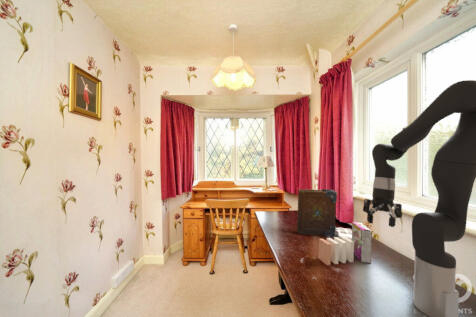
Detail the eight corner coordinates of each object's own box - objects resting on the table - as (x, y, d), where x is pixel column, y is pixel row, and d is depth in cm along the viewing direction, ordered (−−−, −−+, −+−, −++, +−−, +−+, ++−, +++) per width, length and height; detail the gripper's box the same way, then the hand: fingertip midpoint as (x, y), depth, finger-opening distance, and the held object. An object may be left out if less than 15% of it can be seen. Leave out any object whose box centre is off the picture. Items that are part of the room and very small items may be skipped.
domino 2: (338, 263, 85) (339, 243, 85) (334, 264, 85) (335, 243, 85) (329, 256, 91) (329, 237, 91) (325, 257, 91) (326, 238, 91)
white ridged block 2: (345, 262, 86) (346, 242, 86) (342, 263, 86) (343, 242, 86) (336, 256, 92) (337, 237, 92) (333, 256, 92) (333, 237, 92)
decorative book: (330, 232, 122) (331, 189, 122) (335, 237, 115) (337, 191, 115) (296, 230, 124) (297, 188, 123) (298, 235, 116) (300, 189, 116)
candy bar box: (350, 250, 98) (351, 221, 98) (360, 252, 97) (361, 222, 97) (360, 262, 87) (361, 229, 87) (371, 263, 86) (372, 230, 86)
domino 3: (353, 261, 87) (354, 241, 87) (350, 262, 87) (350, 242, 87) (343, 255, 93) (344, 236, 93) (340, 255, 93) (341, 236, 93)
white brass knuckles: (333, 238, 114) (329, 230, 128) (366, 243, 108) (358, 234, 122) (333, 233, 114) (329, 225, 128) (366, 238, 108) (358, 229, 122)
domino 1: (330, 264, 84) (331, 244, 84) (326, 265, 84) (327, 244, 84) (321, 257, 90) (322, 238, 90) (318, 258, 90) (319, 238, 89)
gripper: (371, 186, 76) (368, 224, 75) (408, 191, 74) (405, 230, 73) (361, 185, 84) (358, 219, 82) (394, 189, 82) (392, 225, 81)
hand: (380, 224), depth 78 cm, fingers open, 8 cm apart
